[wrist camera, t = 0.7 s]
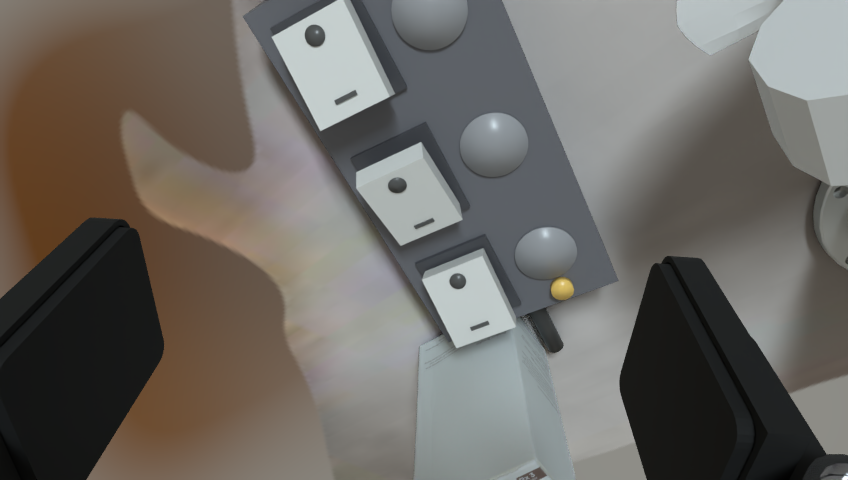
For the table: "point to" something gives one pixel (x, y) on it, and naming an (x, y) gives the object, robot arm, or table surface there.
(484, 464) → the skincare box
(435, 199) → the rocker
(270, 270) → the table surface
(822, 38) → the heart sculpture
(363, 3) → the rocker switch panel
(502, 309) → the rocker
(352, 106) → the rocker
